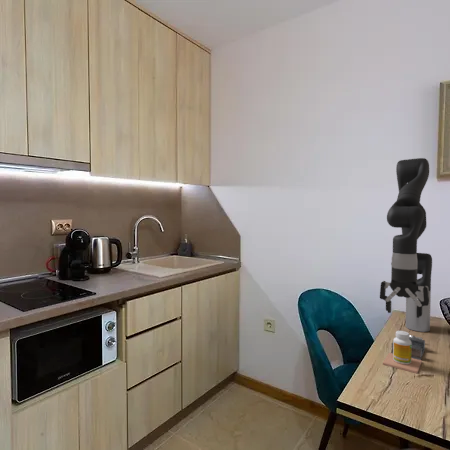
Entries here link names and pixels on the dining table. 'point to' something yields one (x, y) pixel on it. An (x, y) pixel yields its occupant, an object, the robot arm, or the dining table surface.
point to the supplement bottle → (402, 348)
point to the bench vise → (416, 347)
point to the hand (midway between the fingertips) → (403, 314)
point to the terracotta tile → (410, 367)
